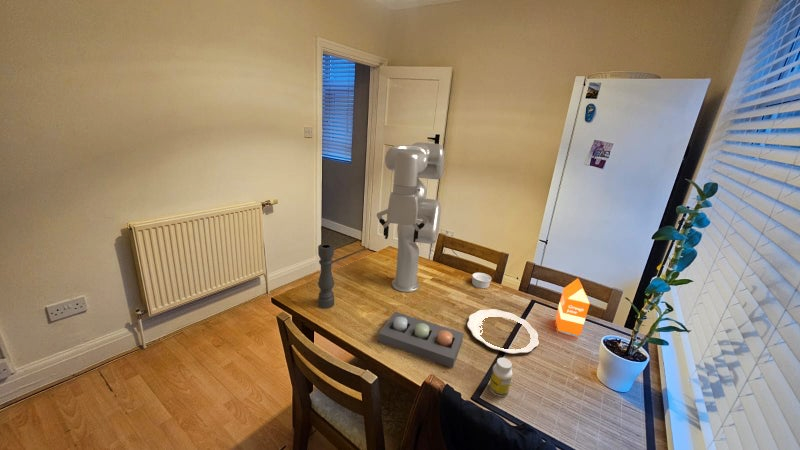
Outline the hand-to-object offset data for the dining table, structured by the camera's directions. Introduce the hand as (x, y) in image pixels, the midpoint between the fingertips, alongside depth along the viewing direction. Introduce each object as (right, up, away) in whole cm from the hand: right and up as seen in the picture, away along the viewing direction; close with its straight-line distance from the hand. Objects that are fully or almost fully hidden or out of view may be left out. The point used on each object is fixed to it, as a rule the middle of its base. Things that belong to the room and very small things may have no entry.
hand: (400, 239), depth 108 cm
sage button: (+7, -33, -1) cm, 33 cm away
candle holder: (-30, -27, +17) cm, 44 cm away
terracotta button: (+15, -34, -3) cm, 37 cm away
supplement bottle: (+28, -43, -17) cm, 54 cm away
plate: (+37, -35, +9) cm, 52 cm away
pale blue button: (0, -31, +2) cm, 31 cm away
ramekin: (+38, -24, +42) cm, 62 cm away
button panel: (+7, -35, 0) cm, 36 cm away
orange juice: (+64, -35, +14) cm, 75 cm away
